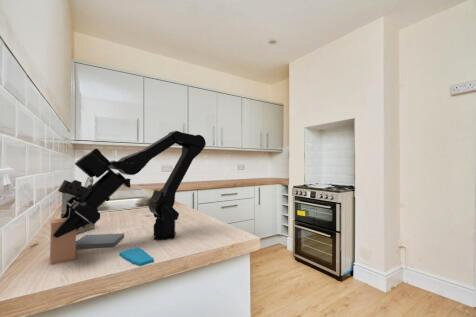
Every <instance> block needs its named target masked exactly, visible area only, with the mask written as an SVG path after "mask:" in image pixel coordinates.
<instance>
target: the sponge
mask: <svg viewBox="0 0 476 317" xmlns="http://www.w3.org/2000/svg"><path fill="white" fill-rule="evenodd" d="M118 256H119V257H121V258H122V259H124V260H125V261H127V262H129V263H131V265H135V266H137V267H143V266H145V265H146V266H147V265H149V264H152V263H155V259H154V257H153V256H151V255H150V254H149V253H148V252H146V251H145V250H144V249H143V248H141V247H140V246H139V247H138V246H137V247H133V248H129V249H126V250H121V251H119V255H118Z"/></svg>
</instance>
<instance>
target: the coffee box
mask: <svg viewBox="0 0 476 317" xmlns="http://www.w3.org/2000/svg"><path fill="white" fill-rule="evenodd" d="M71 196H73V195H70V194H67V193H66V194H64V193H61V211H60V212H61V213H60V219H61V218H62V216H63V215H64V213H65V212H66V203H67V204H68V205H70V203H68V202H67V201H66V200H67V199H69V198H70V197H71ZM88 221H89V220H88ZM89 222H90V221H89ZM95 227H96V223H95V224H93V223H91V222H90V224H87V225H84V226H82V227H80V228H77V229H76V235H78V234H82V233H85V232H88V231H91V230H94V229H96V228H95Z"/></svg>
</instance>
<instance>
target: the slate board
mask: <svg viewBox="0 0 476 317" xmlns="http://www.w3.org/2000/svg"><path fill="white" fill-rule="evenodd" d="M124 238H125V233H123V232H122V233H104V234H103V233H100V234H98V233H97V234H85V235H84V236H82V237H80V238H79V239H76V250H81V249H83V250H84V249H95V248H96V249H98V248H114V247H115V246H116V245H118V243H120V241H121V240H122V239H124Z"/></svg>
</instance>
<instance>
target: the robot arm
mask: <svg viewBox="0 0 476 317" xmlns="http://www.w3.org/2000/svg"><path fill="white" fill-rule="evenodd" d="M206 143H207V142H206V138H205V137H204V136H203V135H201V134H196V135H195V134H191V133H187V132H182V131H179V130H173V131H170V132H169V133H168V134H166V135H164V136H163V137H161V138H159V139H158V140H156V141H155V142H153V143H152V144H149V145H148V146H147V147H145V148H144V149H141V150H139V151H137V152H134V153H131V154H128V155H126V156H122V157H121V158H119V160H118V161H116V160H111V161H110V160H109V159H108V158H107V156H106V157H105V155H103V154H102V151H100V150H99V149H98V148H94V149H93V150H91V151H89V152H88V153H87V154H86V155H83V156H81V158H79V159H78V160H77V161H75V163H74V165H75V166H76V167H77V168H79V169H80V170H81V171H82V172H83V173H84V174H86V175H87V176H88V177H89V178H90V179H92V178H97V179H98V180H96V181H95V182H94V183H93V184H89V185H87V186H84V185H82V181H80V180H77V179H74V180H72V181H69V180H67V179H64V180H63V182H62V183H61V184H60V186H59V188H58V190H57V191H58V192H59V193H61V194H62V193H64V194H66V193H67V194H70V195H73V196H71V197H70V198H69V199H67V200H66V201H67V202H68V203H70V205H68V204H67V203H66V212H65V213H64V215H63V216H62V218H67V219H66V220H65V221H64V222H63V224H62V225H61V226H60V227H59V228H58V230H57V231H56V232H55V233H54V235H53V236H54V237H56V238H58V237H60V236H62V235H64V234H66V233H69V232H71V231H73V230H75V229H77V228H80V227H82V226H84V225H87V224H90V222H91V223H93V224H95V225H96V223H97V222H99V220H100V219H101V213H100V212H99V208H100V207H101V206H102V205H103V204H104V203H105V202H108V201H110V200H111V198H110V197H111V196H113V195H114V194H115V193H116V192H117V191H118V190H119V189H120V188H121V187H122V186H124V188H129V189H130V188H131V187H132V186H131V178H125V177H124V176H123V175H125V176H126V175H127V176H134V175H137V174H138V173H140V172H141V171H142V170H144V168H145V167H146V166H147V164H148V163H149V162H150V161H151V160H152V159H154V158H155V157H157V156H158V155H160V154H162V153H163V152H164V151H166V150H168V149H169V148H171V147H172V146H174V145H175V144H176V145H178V146H181V154H180V156H179V157H178V160H177V162H176V163H175V166H174V167H173V169H172V171H171V173H170V175H169V176H168V178H167V180H166V181H165V183H164V185H163V187H162V188H160V190H158V189H157V190H156V189H155V190H154V191H153V193H152V195H151V197H150V198H149V199H148V201H149V203H148V210H149V212H150V213H152V214H153V217H154V219H155V223H153V237H154V238H153V240H171V239H173V240H174V239H175V237H176V235H177V232H176V221H177V220H178V219H179V216H180V212H178V211H177V210H176V209H175V208H174V205H175V201H176V192H177V191H178V189H179V188H180V185H181V183H182V182H183V180H184V177H185V176H186V174H187V172H188V170H189V168H190V166H191V164H192V163H193V160H194V159H195V158H197V156H198V155H200V154H201V153H202V151H203V150H204V149H205V148H206ZM114 170H116V171H118V172H116V171H115V172H114ZM62 218H61V217H60V219H62ZM88 220H89V221H90V222H89V221H88Z"/></svg>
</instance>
